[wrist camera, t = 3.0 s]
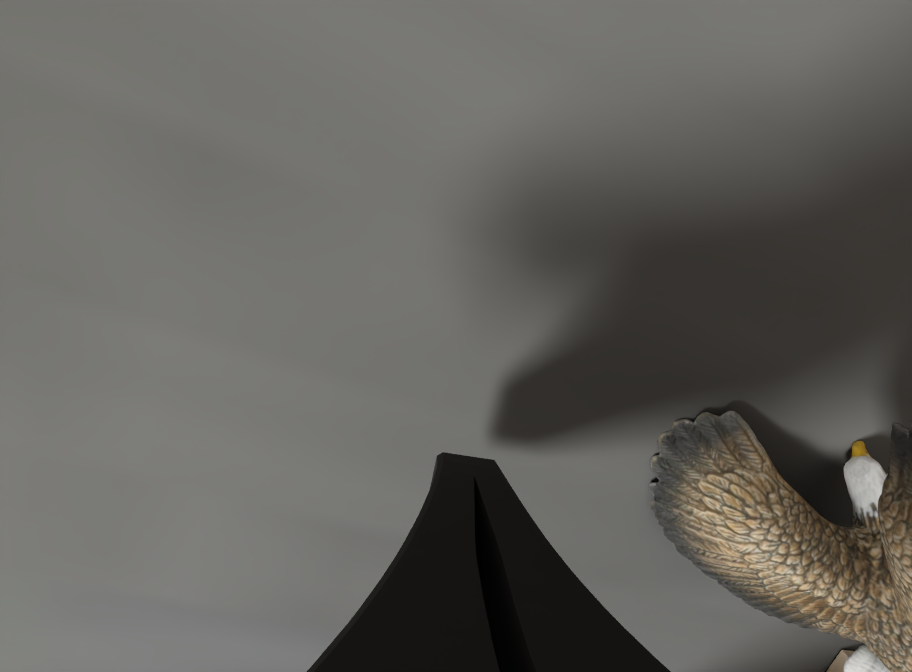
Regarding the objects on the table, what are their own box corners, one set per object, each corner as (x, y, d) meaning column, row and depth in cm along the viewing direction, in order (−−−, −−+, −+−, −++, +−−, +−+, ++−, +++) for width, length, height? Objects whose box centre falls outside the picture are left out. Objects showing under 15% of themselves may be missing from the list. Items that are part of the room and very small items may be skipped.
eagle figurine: (1085, 438, 11) (912, 306, 8) (1423, 857, 7) (1342, 924, 4) (779, 499, 17) (606, 434, 14) (864, 751, 13) (642, 743, 9)
